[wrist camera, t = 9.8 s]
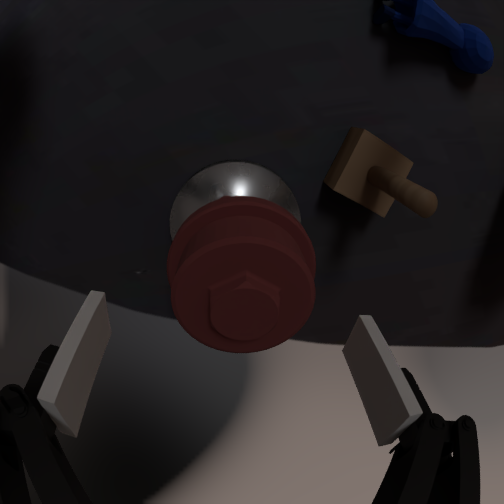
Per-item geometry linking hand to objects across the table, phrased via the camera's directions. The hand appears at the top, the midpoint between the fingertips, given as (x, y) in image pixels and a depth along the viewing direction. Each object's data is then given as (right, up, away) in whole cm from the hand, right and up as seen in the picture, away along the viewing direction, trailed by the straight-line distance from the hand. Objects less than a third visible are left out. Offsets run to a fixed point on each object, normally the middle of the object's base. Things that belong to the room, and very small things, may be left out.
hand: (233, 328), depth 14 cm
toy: (+20, +27, +5) cm, 34 cm away
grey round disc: (-1, +7, +14) cm, 15 cm away
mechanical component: (0, +6, +12) cm, 14 cm away
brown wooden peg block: (+12, +12, +12) cm, 20 cm away
